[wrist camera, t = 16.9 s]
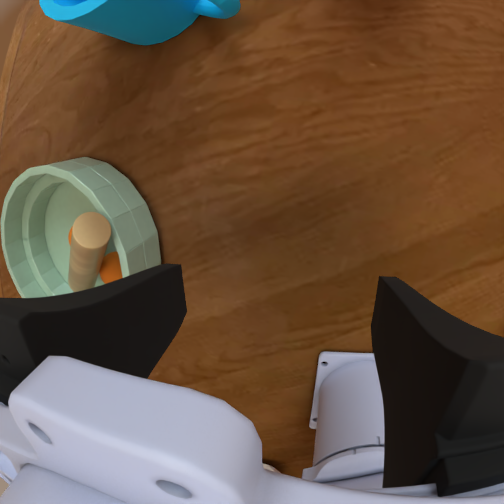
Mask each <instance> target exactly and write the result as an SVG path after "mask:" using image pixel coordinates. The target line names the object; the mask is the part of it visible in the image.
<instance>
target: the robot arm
mask: <svg viewBox="0 0 504 504" xmlns="http://www.w3.org/2000/svg"><path fill="white" fill-rule="evenodd" d="M186 313H187V308H186V301H185V293H184V285H183V277H182V269H181V265H179V264H162V265H158V266H154V267H151V268H148V269H146V270H143V271H140V272H137V273H135V274H132V275H129V276H127V277H124V278H121V279H118V280H115V281H112V282H109V283H106V284H104V285H100V286H97V287H94V288H90V289H86V290H82V291H78V292H73V293H67V294H61V295H55V296H48V297H36V298H0V477H1V478H2V479H3V480H5V481H6V482H7V483H8V484H9V486H8V488H7V489H6V490H5V492H4V493H3V494H2V496H1V497H0V504H504V338H503V337H500V336H497V335H494V334H491V333H489V332H486V331H484V330H481V329H479V328H477V327H474V326H472V325H470V324H468V323H466V322H464V321H462V320H460V319H458V318H456V317H454V316H453V315H451V314H449V313H448V312H446V311H444V310H443V309H441V308H440V307H438V306H437V305H435V304H434V303H432V302H431V301H429V300H428V299H426V298H425V297H424V296H422V295H421V294H420V293H418V292H417V291H416V290H414V289H413V288H412V287H410V286H409V285H408V284H406V283H405V282H403V281H402V280H400V279H399V278H397V277H383V276H379V281H378V288H377V294H376V300H375V306H374V312H373V317H372V323H371V334H372V347H373V353H348V352H327V351H325V352H321V353H320V354H319V359H318V367H317V375H316V383H315V390H314V397H313V404H312V410H311V417H310V423H309V427H310V428H312V429H316V438H315V448H314V457H313V466H312V467H311V468H306V469H303V473H302V479H301V478H297V477H293V476H289V475H285V474H281V473H278V472H274V471H271V470H267V469H264V467H263V464H262V442H261V440H260V438H259V436H258V434H257V431H256V429H255V427H254V425H253V423H252V422H251V421H250V420H249V419H248V418H247V417H245V416H244V415H243V414H241V413H240V412H238V411H237V410H236V409H234V408H233V407H232V406H230V405H229V404H228V403H227V402H225V401H224V400H222V399H219V398H216V397H213V396H211V395H208V394H205V393H202V392H199V391H197V390H194V389H191V388H187V387H181V386H177V385H172V384H167V383H162V382H158V381H154V380H149V379H147V378H148V377H149V375H150V373H151V371H152V370H153V368H154V367H155V365H156V364H157V362H158V361H159V359H160V358H161V356H162V355H163V354H164V352H165V351H166V349H167V348H168V346H169V345H170V343H171V342H172V340H173V339H174V337H175V335H176V334H177V332H178V330H179V328H180V326H181V324H182V322H183V320H184V317H185V315H186ZM324 361H325V362H327V363H322V362H324Z"/></svg>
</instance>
